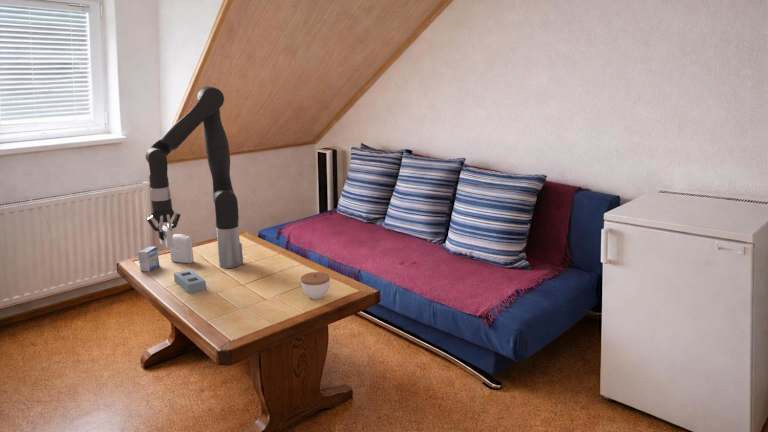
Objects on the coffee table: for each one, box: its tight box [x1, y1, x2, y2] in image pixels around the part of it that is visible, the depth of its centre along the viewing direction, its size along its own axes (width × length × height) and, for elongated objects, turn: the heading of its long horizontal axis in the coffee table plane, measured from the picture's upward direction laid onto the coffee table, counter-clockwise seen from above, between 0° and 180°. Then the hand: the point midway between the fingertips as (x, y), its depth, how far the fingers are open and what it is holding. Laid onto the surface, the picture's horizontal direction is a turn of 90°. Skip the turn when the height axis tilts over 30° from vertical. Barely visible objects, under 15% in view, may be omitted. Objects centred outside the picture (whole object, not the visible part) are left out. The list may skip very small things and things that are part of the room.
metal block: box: [159, 224, 174, 250], centre depth 255 cm, size 2×10×7 cm, turn 36°
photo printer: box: [169, 233, 195, 264], centre depth 274 cm, size 10×4×12 cm, turn 69°
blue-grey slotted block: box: [173, 268, 207, 294], centre depth 248 cm, size 7×16×4 cm, turn 36°
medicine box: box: [137, 246, 160, 273], centre depth 266 cm, size 8×4×9 cm, turn 168°
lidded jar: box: [300, 271, 331, 300], centre depth 236 cm, size 11×11×9 cm
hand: (166, 239), depth 255 cm, fingers closed on metal block, 2 cm apart
